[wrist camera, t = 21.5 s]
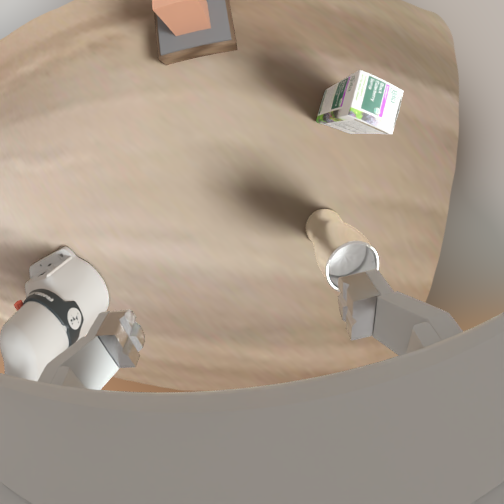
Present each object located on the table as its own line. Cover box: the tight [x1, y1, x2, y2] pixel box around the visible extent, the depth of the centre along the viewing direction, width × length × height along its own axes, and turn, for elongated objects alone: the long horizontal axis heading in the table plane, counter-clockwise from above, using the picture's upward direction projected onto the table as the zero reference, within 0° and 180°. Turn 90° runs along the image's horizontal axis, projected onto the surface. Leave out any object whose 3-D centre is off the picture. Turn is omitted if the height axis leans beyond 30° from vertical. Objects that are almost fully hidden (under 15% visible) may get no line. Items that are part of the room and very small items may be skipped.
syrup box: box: [316, 70, 403, 134], centre depth 29 cm, size 6×6×14 cm
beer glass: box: [306, 209, 379, 292], centre depth 36 cm, size 7×7×15 cm
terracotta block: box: [152, 0, 211, 36], centre depth 23 cm, size 5×5×10 cm
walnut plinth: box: [154, 0, 237, 65], centre depth 29 cm, size 11×11×4 cm
